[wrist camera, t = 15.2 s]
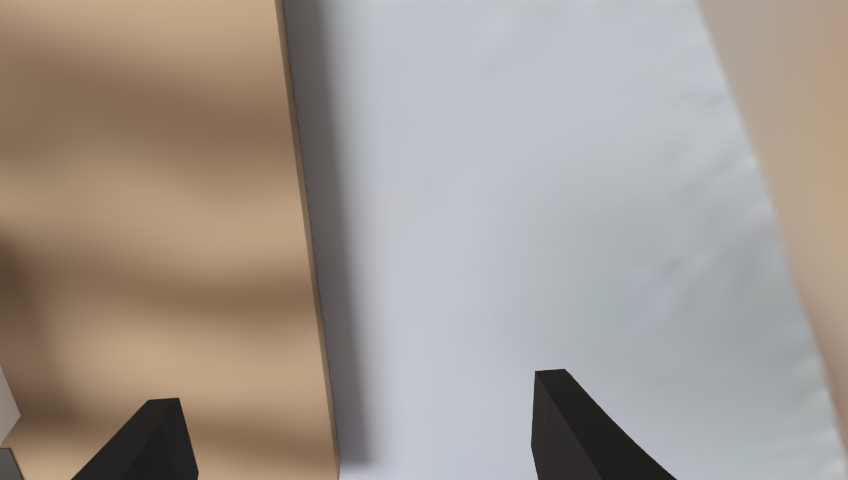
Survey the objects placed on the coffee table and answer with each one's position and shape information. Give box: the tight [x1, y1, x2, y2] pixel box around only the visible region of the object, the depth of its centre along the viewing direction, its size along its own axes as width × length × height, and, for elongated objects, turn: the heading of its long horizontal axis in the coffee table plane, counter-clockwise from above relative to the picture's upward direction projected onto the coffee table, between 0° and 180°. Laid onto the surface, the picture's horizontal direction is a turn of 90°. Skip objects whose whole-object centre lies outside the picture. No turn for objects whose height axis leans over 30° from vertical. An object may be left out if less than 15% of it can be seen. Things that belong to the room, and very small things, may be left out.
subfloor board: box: [0, 0, 340, 480], centre depth 22 cm, size 20×19×2 cm
